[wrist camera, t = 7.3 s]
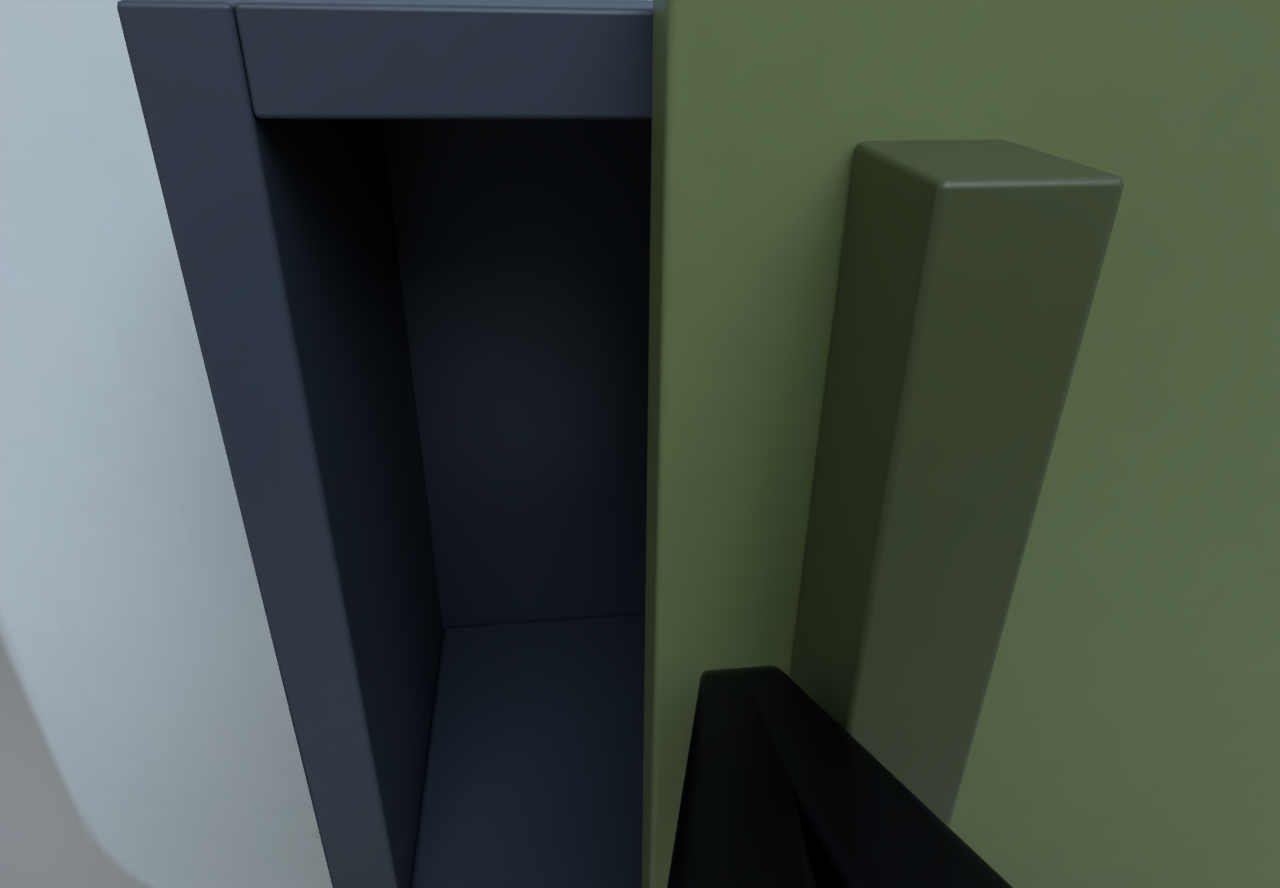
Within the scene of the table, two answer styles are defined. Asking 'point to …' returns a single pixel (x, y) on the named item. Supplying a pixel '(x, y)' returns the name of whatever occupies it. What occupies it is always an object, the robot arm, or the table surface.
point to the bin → (431, 403)
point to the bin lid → (978, 413)
